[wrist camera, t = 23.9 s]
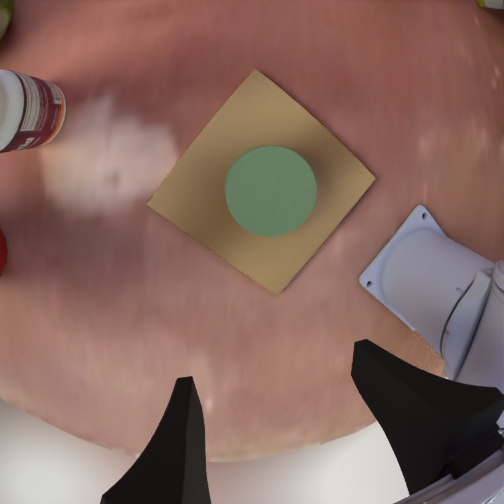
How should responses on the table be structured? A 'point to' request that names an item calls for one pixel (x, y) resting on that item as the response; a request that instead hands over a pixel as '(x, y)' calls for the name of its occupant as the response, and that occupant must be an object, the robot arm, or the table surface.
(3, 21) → the fruit
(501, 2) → the alarm clock
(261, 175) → the jar lid
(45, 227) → the table surface
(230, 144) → the plate
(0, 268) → the plastic cup
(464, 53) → the table surface
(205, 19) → the table surface
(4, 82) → the pill bottle
